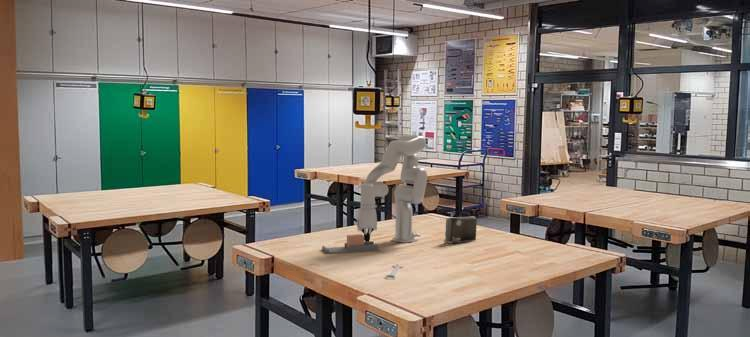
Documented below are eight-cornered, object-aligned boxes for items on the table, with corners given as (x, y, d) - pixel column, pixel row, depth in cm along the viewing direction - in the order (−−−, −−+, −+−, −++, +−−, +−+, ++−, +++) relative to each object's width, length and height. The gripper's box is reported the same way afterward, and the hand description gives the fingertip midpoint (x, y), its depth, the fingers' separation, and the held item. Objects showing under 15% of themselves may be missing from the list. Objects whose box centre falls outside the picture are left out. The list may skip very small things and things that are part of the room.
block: (361, 246, 312) (361, 234, 311) (364, 248, 307) (364, 236, 306) (346, 247, 309) (346, 235, 308) (349, 249, 304) (349, 237, 304)
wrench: (404, 267, 278) (393, 266, 279) (404, 264, 278) (393, 263, 279) (395, 281, 254) (383, 280, 255) (395, 277, 253) (383, 276, 254)
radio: (472, 238, 343) (473, 212, 342) (482, 240, 336) (483, 215, 334) (441, 241, 331) (441, 216, 330) (450, 245, 324) (451, 218, 322)
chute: (372, 246, 317) (372, 240, 316) (378, 250, 307) (378, 244, 307) (322, 249, 307) (322, 244, 307) (327, 254, 298) (327, 248, 298)
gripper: (378, 205, 314) (377, 239, 316) (351, 206, 309) (351, 240, 311) (383, 207, 307) (382, 241, 309) (356, 208, 302) (355, 243, 304)
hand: (366, 241), depth 310 cm, fingers closed
